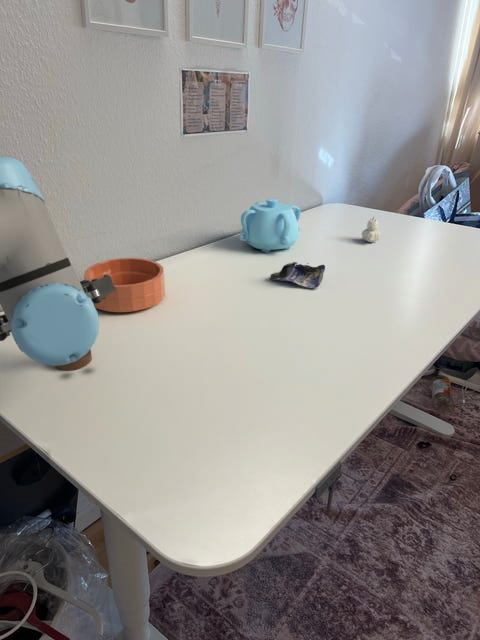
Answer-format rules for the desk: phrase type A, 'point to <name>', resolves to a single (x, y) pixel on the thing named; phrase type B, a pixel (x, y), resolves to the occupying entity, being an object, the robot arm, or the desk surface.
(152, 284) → the bowl
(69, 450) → the desk surface
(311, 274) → the snack package
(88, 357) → the muddler
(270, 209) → the decorative pot
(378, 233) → the cream small figurine
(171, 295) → the desk surface
